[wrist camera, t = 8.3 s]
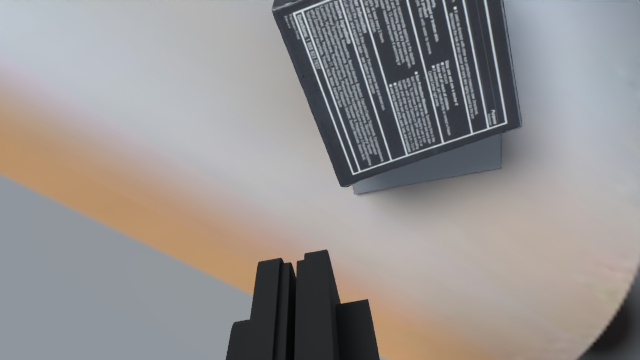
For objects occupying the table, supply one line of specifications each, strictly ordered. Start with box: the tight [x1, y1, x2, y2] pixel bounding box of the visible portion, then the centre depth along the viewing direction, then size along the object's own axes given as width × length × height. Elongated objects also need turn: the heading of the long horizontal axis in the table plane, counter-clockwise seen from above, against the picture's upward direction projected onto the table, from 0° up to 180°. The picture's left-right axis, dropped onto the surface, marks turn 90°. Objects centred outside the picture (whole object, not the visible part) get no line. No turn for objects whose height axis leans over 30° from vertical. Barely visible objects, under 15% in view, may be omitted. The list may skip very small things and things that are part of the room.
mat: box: [353, 133, 501, 194], centre depth 30 cm, size 10×18×1 cm, turn 11°
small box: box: [272, 0, 522, 187], centre depth 26 cm, size 11×6×10 cm
